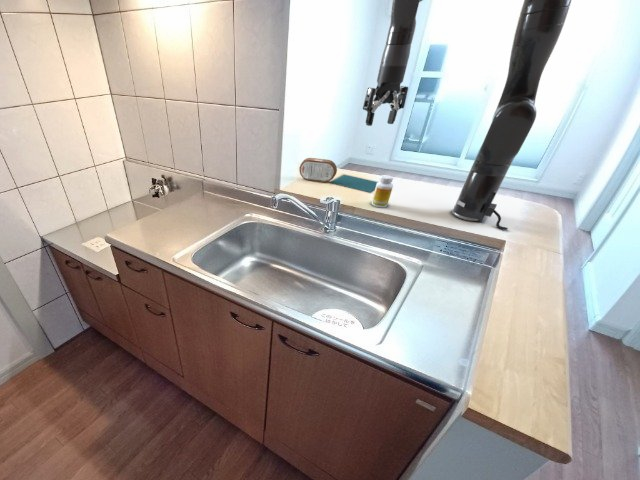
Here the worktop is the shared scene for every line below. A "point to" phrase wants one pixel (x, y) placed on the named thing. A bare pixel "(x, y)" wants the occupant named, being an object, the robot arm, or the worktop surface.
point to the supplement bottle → (382, 191)
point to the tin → (318, 169)
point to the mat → (355, 183)
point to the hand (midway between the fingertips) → (379, 124)
